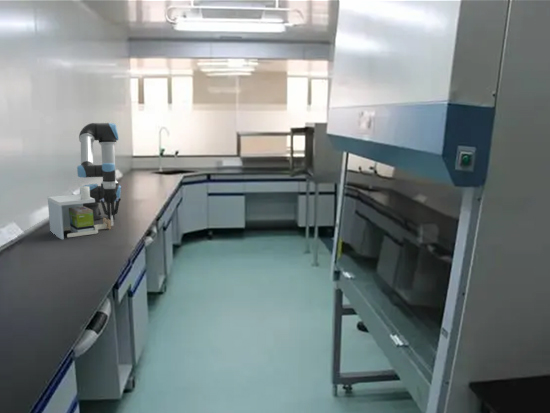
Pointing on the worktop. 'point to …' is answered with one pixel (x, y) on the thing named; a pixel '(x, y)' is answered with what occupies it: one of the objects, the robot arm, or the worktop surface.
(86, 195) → the white rounded capsule
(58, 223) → the panel
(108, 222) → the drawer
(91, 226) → the tea box
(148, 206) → the worktop surface
